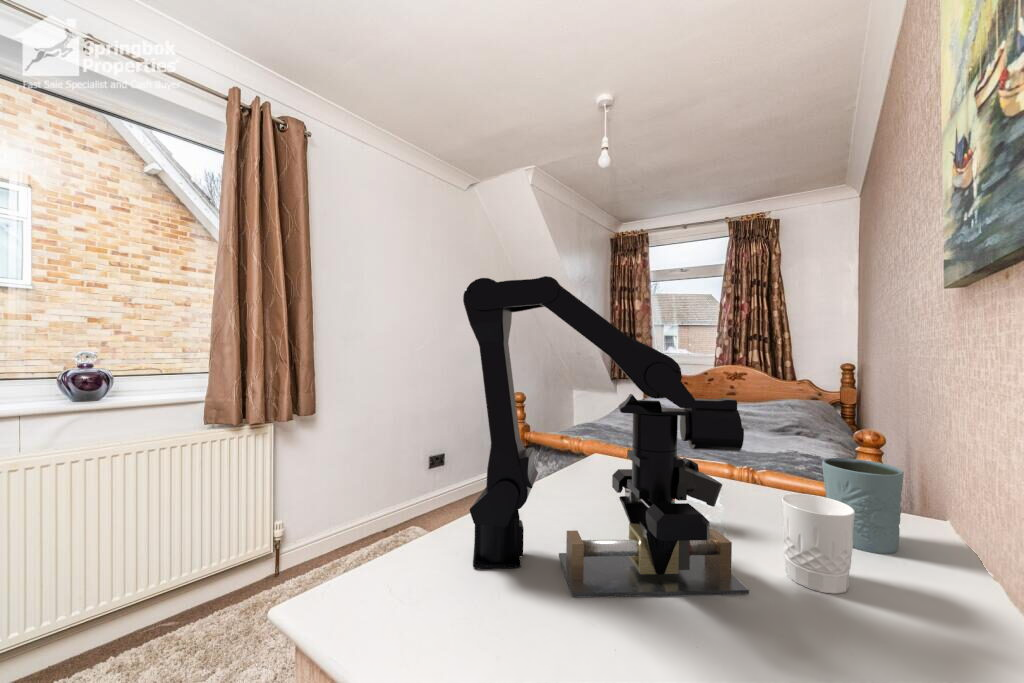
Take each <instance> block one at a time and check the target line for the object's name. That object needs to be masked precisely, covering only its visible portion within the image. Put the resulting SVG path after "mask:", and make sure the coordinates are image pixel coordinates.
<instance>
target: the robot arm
mask: <svg viewBox="0 0 1024 683" xmlns="http://www.w3.org/2000/svg"><path fill="white" fill-rule="evenodd" d="M462 298H463V299H462V300H463V301H462V302H463V306H464V310H465V312H466V315H467V319H468V322H469V326H470V328H471V329H472V332H473V334H474V337H475V339H476V340H477V343H478V346H479V354H480V356H479V357H480V361H481V362H480V363H481V370H482V371H481V372H482V379H483V380H482V381H483V387H484V395H485V396H484V397H485V403H486V411H487V412H486V414H487V419H488V420H487V421H488V428H489V438H490V450H489V456H488V462H487V467H486V468H487V472H486V487H485V488H484V489H483V490H482V492H481V493H480V495H479V496H478V497H477V499H476V500H475V501H474V502H473V504H472V505H471V506H470V508H469V513H470V516H471V520H472V521H473V522H472V523H473V524H474V540H473V541H474V544H473V556H472V557H473V558H472V568H474V569H487V568H488V569H494V568H495V569H497V568H499V569H500V568H503V569H504V568H520V567H521V564H522V563H521V557H523V556H524V531H525V530H524V524H523V523H524V522H523V521H522V519H520V514H519V512H520V511H519V510H520V509H521V508H522V507H523V506H524V505H525V504H526V503H527V500H528V498H529V496H530V493H531V490H532V489H533V487H534V484H535V482H536V480H537V478H538V475H539V471H538V469H537V468H536V464H535V447H529V448H525V446H524V443H523V441H522V438H521V435H520V434H521V433H520V427H519V426H520V425H519V418H518V411H517V402H516V395H515V394H516V393H515V388H514V387H515V386H514V385H515V384H514V377H513V371H512V362H511V354H510V353H511V352H510V348H509V347H510V344H509V339H510V332H511V326H512V320H513V319H512V318H513V317H512V316H513V313H518V312H524V311H530V310H534V309H540V308H546V309H548V311H550V312H551V313H552V314H554V315H556V317H558V318H559V319H560V320H562V321H563V322H565V323H566V324H567V325H568V326H570V327H571V328H572V329H573V330H575V331H576V332H577V333H579V334H580V336H581V335H582V336H583V337H584V338H585V339H587V340H588V341H589V342H591V343H592V344H593V345H594V346H596V348H598V349H600V351H602V352H603V353H605V354H606V355H607V356H608V357H609V358H610V359H611V360H612V361H613V362H614V363H615V365H617V367H618V368H619V369H620V370H621V372H623V373H624V374H625V376H627V378H628V379H629V380H630V381H631V382H632V383H633V384H634V385H635V387H636V388H637V389H639V390H640V391H641V392H642V393H643V394H644V395H646V397H649V398H652V399H654V400H645V399H643V400H642V399H637V398H636V397H635V395H634V394H632V393H629V394H628V397H626V399H625V400H624V401H622V402H621V403H619V405H618V409H619V411H620V413H621V414H632V448H631V449H627V458H628V459H629V460H630V461H631V468H630V469H629V468H627V469H626V468H621V469H620V468H618V469H617V470H616V471H614V473H613V474H612V479H611V480H612V481H611V482H612V483H611V485H612V486H611V487H612V489H613V490H614V491H615V492H616V493H617V494H621V493H622V492H623V488H624V495H621V496H619V498H618V499H619V500H620V502H621V505H622V507H623V509H624V512H625V515H626V517H627V519H628V523H640V526H641V529H642V532H643V535H644V538H645V541H646V545H647V548H648V551H649V554H650V557H651V561H652V564H653V567H654V570H655V572H656V574H665V572H666V569H667V566H668V564H669V561H670V558H671V556H672V553H673V550H674V548H675V546H676V544H677V541H688V540H708V539H709V529H710V524H711V523H710V521H709V520H708V519H707V518H706V517H705V515H704V514H702V513H701V512H700V511H699V510H697V509H696V508H695V507H694V506H692V505H691V504H690V503H689V502H687V503H676V502H675V503H672V501H673V499H675V500H677V501H687V498H688V497H691V498H693V499H695V500H699V501H701V502H704V503H705V504H706V505H707V506H710V507H715V506H716V504H717V501H718V498H719V495H720V493H721V490H722V487H723V483H721V482H720V481H718V480H717V479H715V478H713V477H711V476H709V474H705V473H703V472H702V471H699V470H700V469H699V464H698V463H697V462H695V461H694V460H692V459H688V458H685V457H683V458H682V457H680V456H679V455H678V430H679V431H680V432H679V433H680V437H681V441H682V442H688V446H689V448H690V449H691V450H696V451H697V450H698V451H699V450H701V451H716V452H717V451H718V452H730V453H731V452H733V453H734V452H735V453H739V452H741V450H742V448H743V446H744V440H745V439H744V437H745V429H744V427H743V423H742V419H741V415H740V413H739V410H738V401H737V400H735V399H734V398H730V397H729V398H727V397H726V398H725V397H723V398H722V397H721V398H715V399H714V398H713V399H712V398H711V399H710V398H694V396H693V393H691V392H690V391H689V390H688V389H687V387H686V386H685V385H684V383H683V381H682V380H683V379H682V378H683V376H682V369H681V367H680V365H679V364H678V363H677V361H676V360H675V359H674V358H672V357H671V356H670V355H667V354H666V353H663V352H661V351H659V350H658V349H656V348H654V347H652V346H650V345H647V344H645V343H643V342H641V341H639V340H637V339H634V338H633V337H631V336H629V335H627V334H625V333H624V332H622V331H621V330H620V329H618V328H617V327H616V326H615V325H614V324H612V323H611V322H610V321H608V319H606V318H604V317H603V316H601V315H600V314H599V313H598V312H596V311H595V310H594V309H592V308H591V307H590V306H588V305H587V304H586V303H584V302H583V301H582V300H580V299H579V298H578V297H576V296H575V295H574V294H573V293H572V292H570V291H569V290H568V289H566V288H564V286H562V285H561V284H560V282H559V281H558V280H557V279H556V278H554V277H552V276H547V275H545V276H541V277H536V278H531V279H527V278H526V279H510V280H504V281H503V280H502V281H496V280H494V279H492V278H489V277H480V278H476V279H475V280H473V281H472V282H470V284H469V285H467V287H466V289H465V290H464V293H463V296H462ZM655 399H666V400H668V401H670V402H671V403H672V404H674V405H675V406H676V408H674V407H673V408H672V407H662V404H661V402H660V400H655ZM677 407H678V408H677ZM679 416H680V417H679ZM678 418H680V419H679V421H678ZM678 423H679V426H678ZM678 427H679V429H678Z"/></svg>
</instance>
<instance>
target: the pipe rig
mask: <svg viewBox="0 0 1024 683" xmlns="http://www.w3.org/2000/svg"><path fill="white" fill-rule="evenodd" d="M565 542H566V543H565V544H566V547H565V548H566V549H565V550H566V551H565V552H558V557H559V560H560V564H561V566H562V570H563V572H564V573H563V574H564V576H565V578H566V579H565V580H566V582H567V584H568V588H569V590H570V595H571V597H572V598H598V597H599V598H600V597H601V598H605V597H607V598H609V597H612V598H613V597H649V596H650V597H660V596H661V597H663V596H664V597H665V596H713V595H715V596H717V595H719V596H720V595H721V596H722V595H723V596H724V595H726V596H727V595H749V593H750V590H749V588H748V587H746V585H744V583H742V582H741V581H740V580H739V579H738V577H736V576H735V575H734V574H733V573H732V557H733V554H732V551H733V550H732V548H733V546H732V545H733V543H732V541H731V540H729V539H728V538H727V537H726V536H725V535H723V534H722V533H721V532H719V531H718V530H717V529H715V528H714V529H713V528H711V529H710V528H709V539H708V540H690V570H679V572H678V574H640V573H639V571H638V570H637V568H636V567H635V565H634V564H633V562H632V561H631V559H630V558H629V556H639V540H629V539H582V536H581V535H580V533H579V531H578V530H566V541H565Z"/></svg>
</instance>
